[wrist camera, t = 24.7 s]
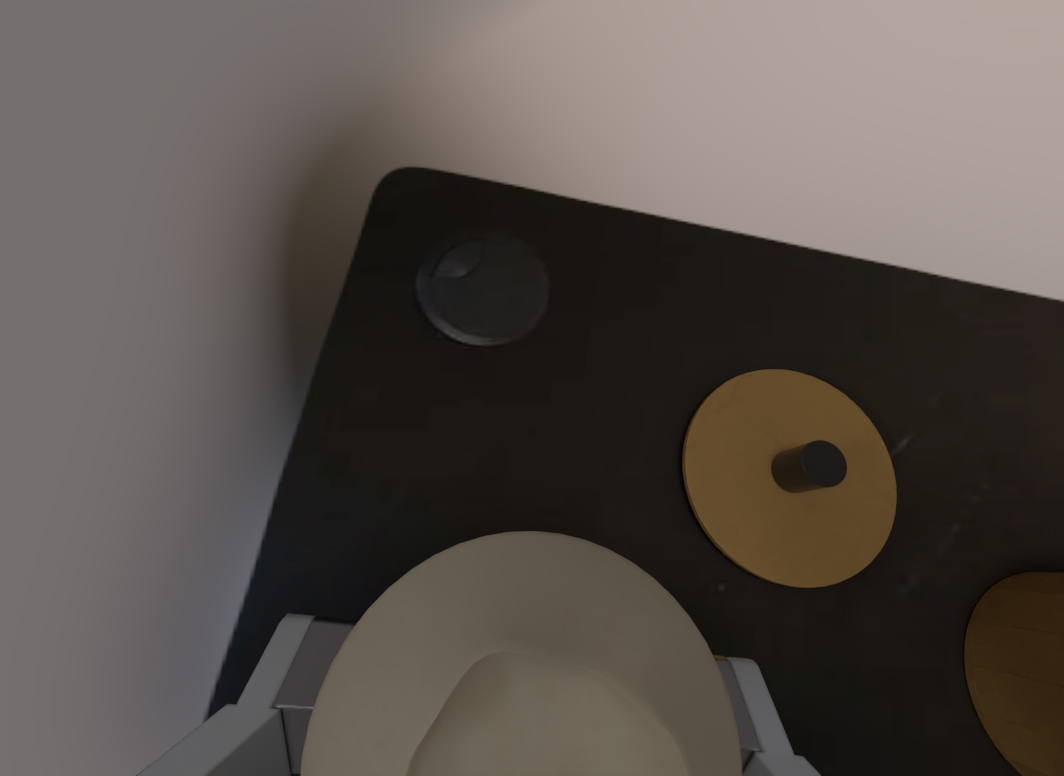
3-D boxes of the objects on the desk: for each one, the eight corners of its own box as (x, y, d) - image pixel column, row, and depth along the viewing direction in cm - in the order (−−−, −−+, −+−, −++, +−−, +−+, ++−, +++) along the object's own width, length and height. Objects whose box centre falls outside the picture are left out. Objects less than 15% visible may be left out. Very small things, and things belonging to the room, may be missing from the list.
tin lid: (903, 584, 28) (969, 590, 25) (689, 588, 28) (722, 595, 24) (859, 375, 32) (910, 352, 28) (668, 373, 31) (694, 348, 27)
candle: (393, 565, 15) (222, 593, 5) (575, 521, 16) (709, 479, 6) (425, 783, 13) (264, 1366, 4) (625, 723, 14) (907, 1082, 5)
